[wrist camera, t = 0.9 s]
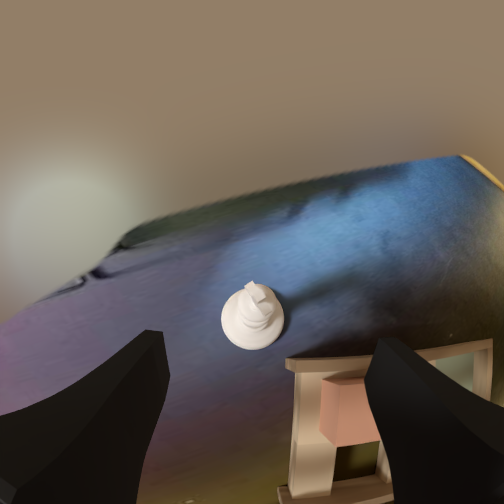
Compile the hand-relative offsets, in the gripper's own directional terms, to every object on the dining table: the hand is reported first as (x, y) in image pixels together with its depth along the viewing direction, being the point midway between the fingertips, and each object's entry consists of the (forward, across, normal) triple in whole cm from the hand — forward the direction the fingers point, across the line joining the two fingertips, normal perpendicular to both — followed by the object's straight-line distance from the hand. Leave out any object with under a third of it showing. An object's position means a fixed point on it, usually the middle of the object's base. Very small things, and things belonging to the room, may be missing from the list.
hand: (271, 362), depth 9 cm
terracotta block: (+6, -6, +10) cm, 13 cm away
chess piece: (+12, 0, +6) cm, 14 cm away
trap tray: (+6, -12, +13) cm, 19 cm away
